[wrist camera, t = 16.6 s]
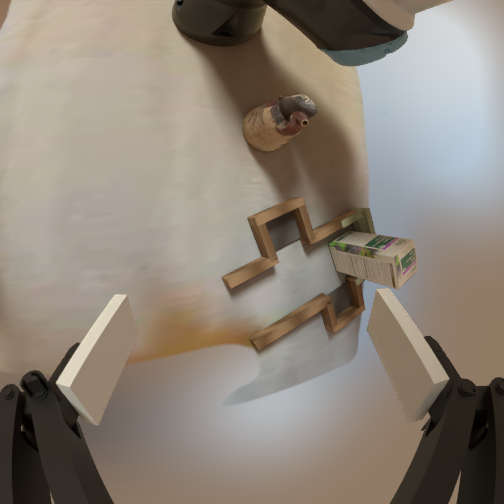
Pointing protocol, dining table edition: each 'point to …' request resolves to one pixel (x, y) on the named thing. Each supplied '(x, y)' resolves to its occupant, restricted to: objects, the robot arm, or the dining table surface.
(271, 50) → the dining table surface
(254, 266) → the channel
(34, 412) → the robot arm
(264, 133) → the figurine
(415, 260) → the syrup box
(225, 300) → the dining table surface
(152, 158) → the dining table surface
